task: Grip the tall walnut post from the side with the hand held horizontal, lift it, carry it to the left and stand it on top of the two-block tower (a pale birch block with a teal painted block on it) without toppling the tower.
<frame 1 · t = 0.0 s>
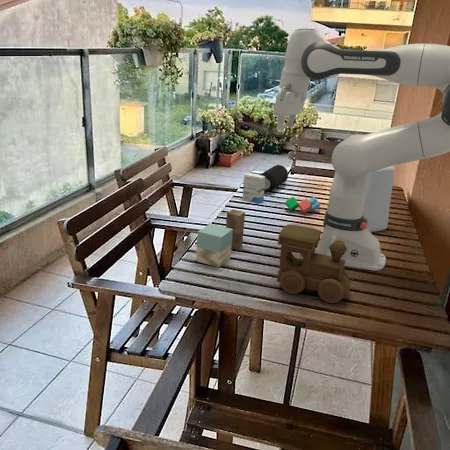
hand: (284, 128, 144), 39 cm above the table, tool pointing down, fingers open, 8 cm apart
upper block: (214, 245, 137), point 5 cm above the table
plastic bottle: (362, 226, 177), on the table
ink box: (252, 201, 199), on the table
portable speaker: (271, 188, 221), on the table
walnut post: (233, 246, 149), on the table
building blocks: (301, 211, 190), on the table
lower block: (213, 260, 139), on the table
wooden toy train: (310, 291, 124), on the table
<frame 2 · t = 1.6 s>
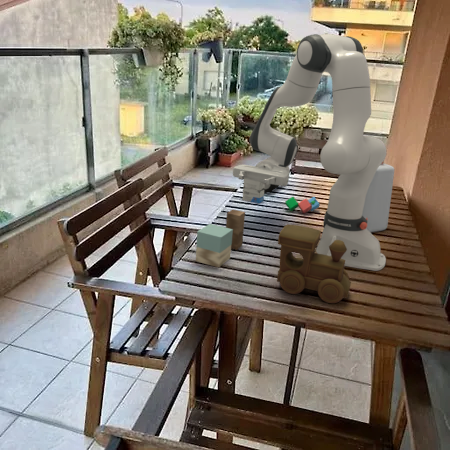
hand: (253, 179, 153), 20 cm above the table, tool horizontal, fingers open, 8 cm apart
upper block: (214, 245, 137), point 5 cm above the table, touching lower block
lower block: (213, 260, 139), on the table, touching upper block
everything else where it was.
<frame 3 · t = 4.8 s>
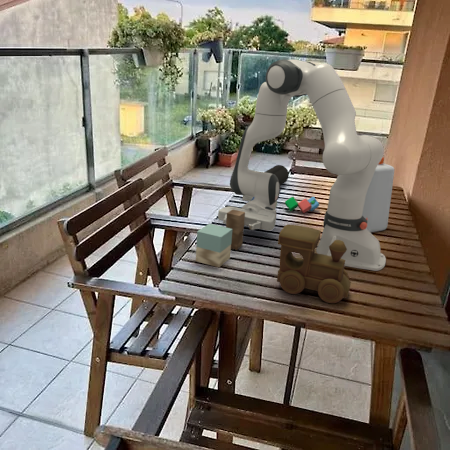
hand: (237, 224, 149), 7 cm above the table, tool horizontal, fingers open, 8 cm apart
nothing on the table moved.
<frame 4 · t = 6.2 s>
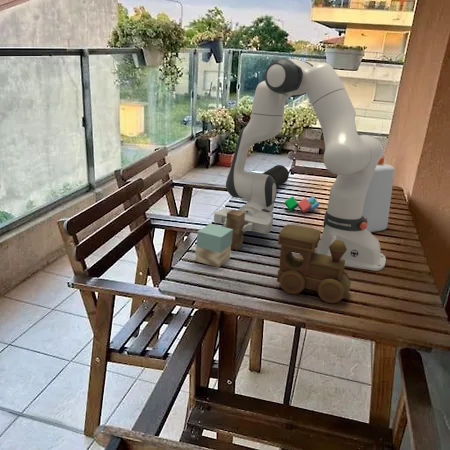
hand: (233, 227, 146), 7 cm above the table, tool horizontal, fingers closed on walnut post, 4 cm apart
walnut post: (233, 246, 149), on the table, touching gripper
everything else where it was.
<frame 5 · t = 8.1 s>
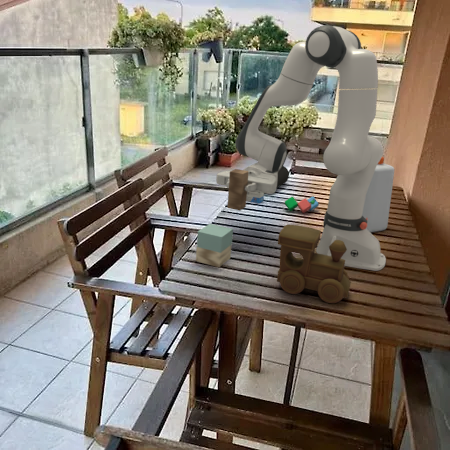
hand: (237, 187, 141), 21 cm above the table, tool horizontal, fingers closed on walnut post, 4 cm apart
walnut post: (236, 207, 144), point 14 cm above the table, touching gripper
everything else where it was.
when the fingers open (18 cm above the table, at t = 10.2 s): walnut post drops 1 cm, resting on upper block.
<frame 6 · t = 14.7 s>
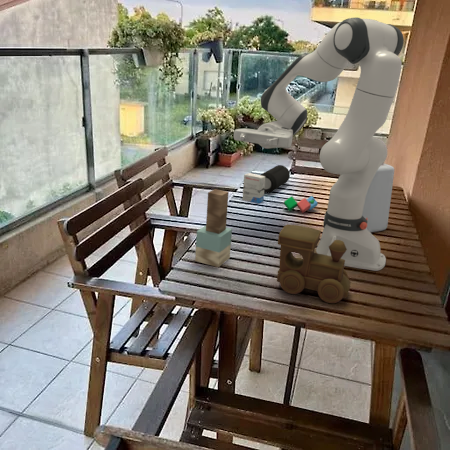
hand: (254, 140, 147), 34 cm above the table, tool horizontal, fingers open, 8 cm apart
upper block: (213, 245, 137), point 5 cm above the table, touching lower block, walnut post
walnut post: (215, 230, 135), point 10 cm above the table, touching upper block
everything else where it was.
at the end: walnut post inside the target area on the upper block (0.4 cm from its centre), point 5.0 cm above the upper block's base; walnut post tilted 0°; upper block 0.0 cm from the lower block (horizontally) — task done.
